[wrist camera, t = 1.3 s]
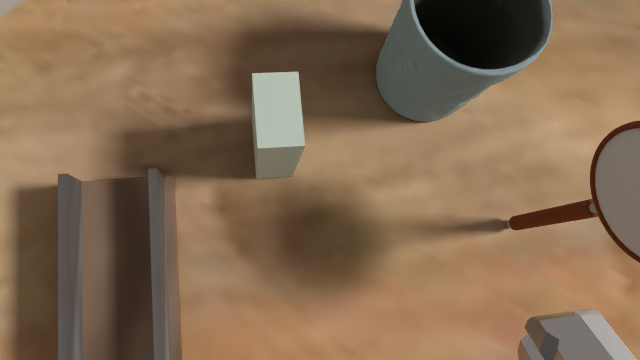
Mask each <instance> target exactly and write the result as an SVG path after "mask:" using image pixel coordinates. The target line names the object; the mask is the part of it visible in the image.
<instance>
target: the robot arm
mask: <svg viewBox="0 0 640 360" xmlns="http://www.w3.org/2000/svg"><path fill="white" fill-rule="evenodd" d="M525 329H526V330H527V332H528V334H527V335H526V336H525V337H524V338H522V339H521V340H520V343H519V347H518V357H519V360H637V359H636V358H635V357H634V356H633V354H632V353H631V352H630V351H629V349H628V348H627V347H626V346H625V344H624V343H623V342H622V341H621V339H620V338H619V337H618V336H617V334H616V333H615V332H614V331H613V329H612V328H611V327H610V326H609V324H608V323H607V322H606V321H605V319H604V318H603V317H602V316H601V314H600V313H599V312H597V311H596V310H594V309H588V310H581V311H575V312H563V313H556V314H549V315H542V316H535V317H531V318H530V319H529V320H527V323H526V326H525Z"/></svg>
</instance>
